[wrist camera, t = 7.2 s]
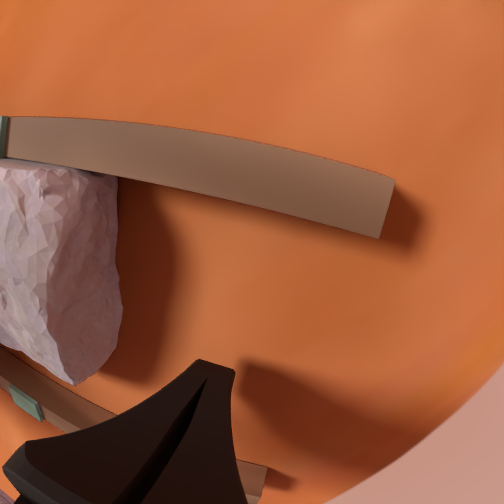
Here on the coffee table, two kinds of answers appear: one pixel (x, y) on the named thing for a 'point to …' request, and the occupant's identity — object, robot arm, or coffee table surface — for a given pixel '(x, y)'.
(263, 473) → the channel
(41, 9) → the coffee table surface
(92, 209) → the stone block
